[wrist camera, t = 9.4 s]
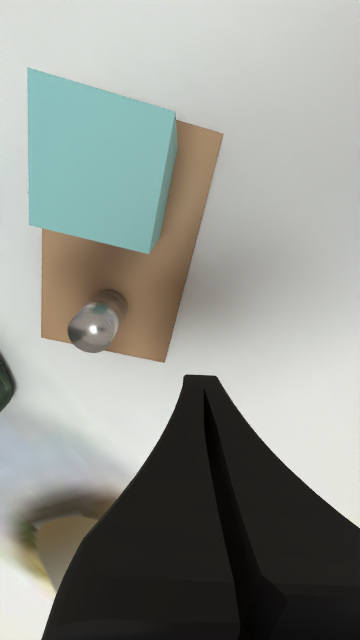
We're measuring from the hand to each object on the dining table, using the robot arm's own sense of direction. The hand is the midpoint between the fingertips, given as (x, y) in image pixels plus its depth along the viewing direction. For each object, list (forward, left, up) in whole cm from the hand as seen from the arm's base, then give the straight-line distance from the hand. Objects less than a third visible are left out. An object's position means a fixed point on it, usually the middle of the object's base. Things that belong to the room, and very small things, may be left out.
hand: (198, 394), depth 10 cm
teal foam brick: (+6, -7, -9) cm, 13 cm away
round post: (+6, +1, -9) cm, 11 cm away
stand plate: (+6, -3, -10) cm, 12 cm away
